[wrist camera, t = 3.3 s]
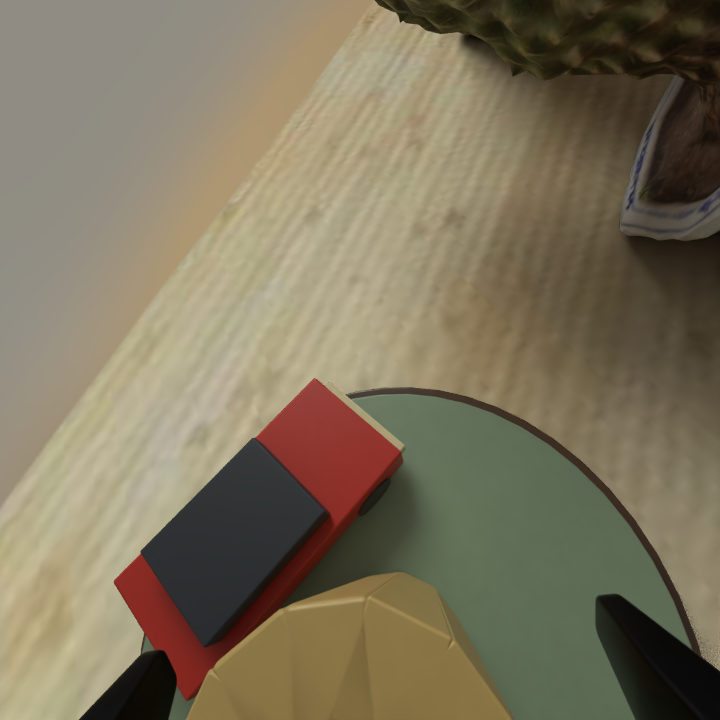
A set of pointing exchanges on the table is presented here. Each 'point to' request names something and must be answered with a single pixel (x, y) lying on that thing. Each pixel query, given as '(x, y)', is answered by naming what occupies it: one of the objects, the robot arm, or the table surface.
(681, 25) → the potted plant
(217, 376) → the table surface
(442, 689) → the turntable
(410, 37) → the table surface
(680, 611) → the display stand
